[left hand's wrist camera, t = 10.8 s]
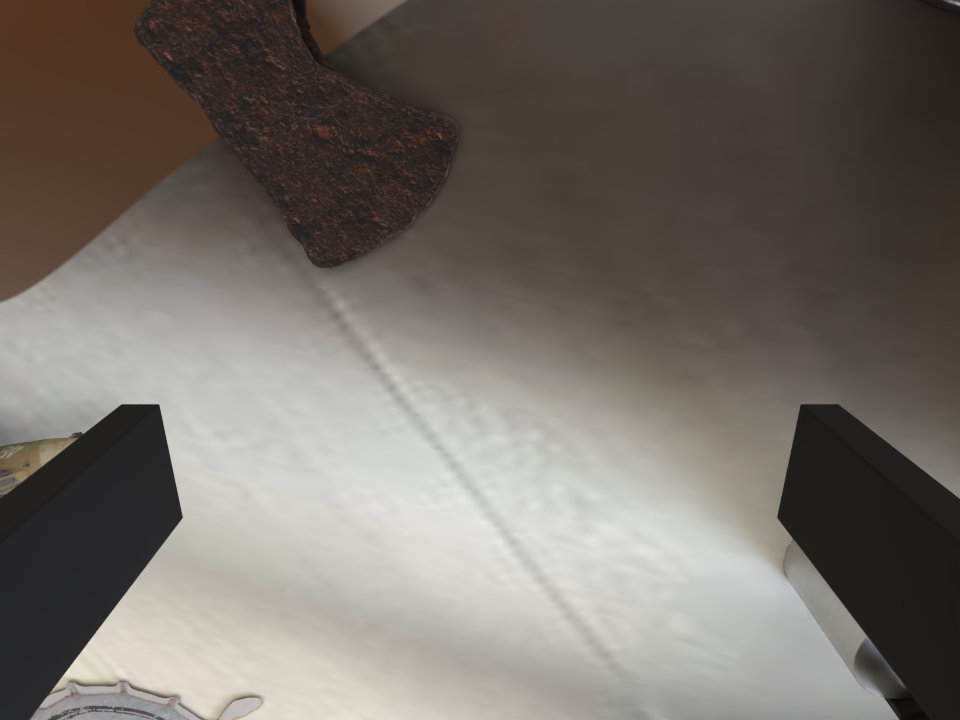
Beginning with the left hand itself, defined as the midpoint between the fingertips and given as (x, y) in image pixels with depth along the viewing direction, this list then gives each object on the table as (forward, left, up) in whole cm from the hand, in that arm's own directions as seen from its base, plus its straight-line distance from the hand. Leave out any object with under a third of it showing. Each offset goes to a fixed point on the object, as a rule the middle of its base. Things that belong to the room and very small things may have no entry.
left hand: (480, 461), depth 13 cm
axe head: (+3, -12, -32) cm, 35 cm away
